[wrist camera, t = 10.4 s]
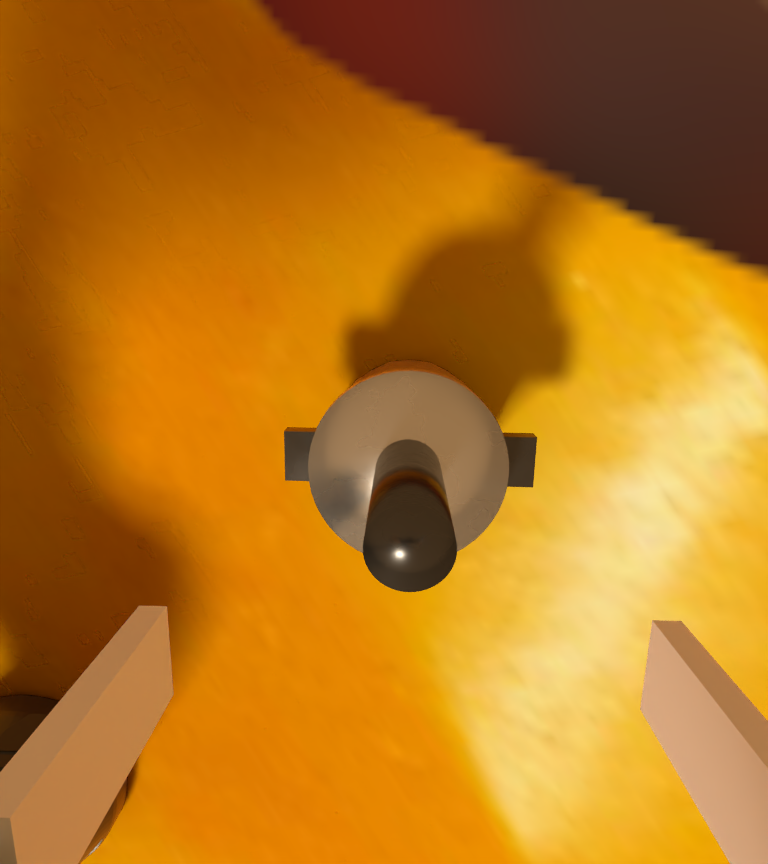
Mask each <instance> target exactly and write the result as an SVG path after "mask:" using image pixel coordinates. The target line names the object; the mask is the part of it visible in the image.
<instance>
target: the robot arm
mask: <svg viewBox="0 0 768 864" xmlns="http://www.w3.org/2000/svg"><path fill="white" fill-rule="evenodd" d="M173 694H174V693H173V680H172V666H171V653H170V639H169V626H168V612H167V606H141V605H139V606H138V608H137V609H136V610H135V611H134V612H133V614H132V615H131V616H130V617H129V618H128V620H127V621H126V622H125V623H124V624H123V626H122V627H121V628H120V629H119V630H118V632H117V633H116V634H115V635H114V636H113V638H112V639H111V640H110V641H109V642H108V644H107V645H106V646H105V647H104V648H103V650H102V651H101V652H100V653H99V654H98V656H97V657H96V658H95V659H94V660H93V662H92V663H91V664H90V665H89V666H88V668H87V669H86V670H85V671H84V672H83V674H82V675H81V676H80V677H79V678H78V680H77V681H76V682H75V683H74V684H73V686H72V687H71V688H70V689H69V690H68V692H67V693H66V694H65V695H64V696H63V698H62V699H61V700H60V701H59V702H58V701H55V700H52V699H48V698H44V697H38V696H29V695H14V696H6V697H1V698H0V864H80V863H81V862H82V861H83V860H84V859H85V858H87V857H88V856H89V855H90V854H91V853H92V852H94V851H95V850H96V849H97V848H98V847H99V846H100V844H101V843H102V842H103V841H104V839H105V838H106V836H107V835H108V833H109V832H110V830H111V828H112V826H113V824H114V822H115V821H116V819H117V817H118V815H119V813H120V811H121V810H122V807H123V805H124V802H125V798H126V792H127V776H128V774H129V773H130V771H131V769H132V767H133V766H134V764H135V762H136V760H137V758H138V757H139V755H140V753H141V751H142V750H143V748H144V746H145V744H146V742H147V741H148V739H149V737H150V735H151V734H152V732H153V730H154V728H155V726H156V725H157V723H158V721H159V719H160V718H161V716H162V714H163V712H164V710H165V709H166V707H167V705H168V703H169V702H170V700H171V698H172V696H173ZM640 710H641V711H642V713H643V715H644V716H645V718H646V720H647V722H648V723H649V725H650V727H651V728H652V730H653V732H654V734H655V735H656V737H657V739H658V740H659V742H660V744H661V746H662V747H663V749H664V751H665V752H666V754H667V756H668V758H669V759H670V761H671V763H672V765H673V766H674V768H675V770H676V771H677V773H678V775H679V777H680V778H681V780H682V782H683V783H684V785H685V787H686V789H687V790H688V792H689V794H690V795H691V797H692V799H693V801H694V802H695V804H696V806H697V807H698V809H699V811H700V813H701V814H702V816H703V818H704V819H705V821H706V823H707V825H708V826H709V828H710V830H711V831H712V833H713V835H714V837H715V838H716V840H717V842H718V843H719V845H720V847H721V849H722V850H723V852H724V854H725V855H726V857H727V859H728V861H729V862H730V864H768V721H767V720H766V719H765V717H764V716H763V715H762V714H761V713H760V712H759V711H758V709H757V708H756V707H755V706H754V705H753V704H752V702H751V701H750V700H749V699H748V698H747V697H746V696H745V694H744V693H743V692H742V691H741V690H740V689H739V687H738V686H737V685H736V684H735V683H734V682H733V680H732V679H731V678H730V677H729V676H728V675H727V674H726V672H725V671H724V670H723V669H722V668H721V667H720V665H719V664H718V663H717V662H716V661H715V660H714V659H713V657H712V656H711V655H710V654H709V653H708V652H707V650H706V649H705V648H704V647H703V646H702V645H701V643H700V642H699V641H698V640H697V639H696V638H695V637H694V635H693V634H692V633H691V632H690V631H689V630H688V628H687V627H686V626H685V625H684V624H683V623H682V621H657V620H652V627H651V635H650V642H649V649H648V656H647V664H646V671H645V678H644V686H643V693H642V700H641V708H640Z"/></svg>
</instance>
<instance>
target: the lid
mask: <svg viewBox="0 0 768 864" xmlns="http://www.w3.org/2000/svg"><path fill="white" fill-rule="evenodd" d="M308 474H309V483H310V487H311V492H312V495H313V498H314V501H315V503H316V506H317V508H318V510H319V511H320V513H321V515H322V517H323V518H324V520H325V521H326V523H327V524H328V525H329V527H330V528H331V529H332V530H333V531H334V532H335V533H336V534H337V535H338V536H339V537H340V538H341V539H342V540H344V541H345V542H346V543H347V544H349V545H350V546H352V547H353V548H355V549H356V550H358V551H360V552H362V553H363V555H364V560H365V563H366V565H367V567H368V569H369V570H370V572H371V573H372V575H373V576H374V577H375V578H376V579H377V580H378V581H380V582H381V583H382V584H384V585H385V586H387V587H390V588H392V589H395V590H398V591H404V592H416V591H422V590H426V589H428V588H431V587H433V586H435V585H436V584H438V583H439V582H441V581H442V580H443V579H444V578H445V577H446V576H447V575H448V573H449V572H450V571H451V569H452V567H453V565H454V563H455V559H456V555H457V551H459V550H461V549H462V548H464V547H466V546H467V545H468V544H470V543H471V542H472V541H474V540H475V539H476V538H477V537H478V536H479V535H480V534H481V533H482V532H483V531H484V530H485V529H486V528H487V527H488V525H489V524H490V523H491V522H492V520H493V519H494V517H495V515H496V514H497V512H498V510H499V508H500V506H501V504H502V501H503V499H504V496H505V492H506V489H507V484H508V477H509V458H508V450H507V446H506V442H505V439H504V436H503V433H502V431H501V429H500V426H499V424H498V423H497V421H496V419H495V418H494V416H493V414H492V413H491V412H490V410H489V409H488V408H487V406H486V405H485V404H484V403H483V401H482V400H481V399H480V398H479V397H478V396H477V395H476V394H475V393H474V392H472V391H471V390H470V389H469V388H467V387H466V386H464V385H463V384H462V383H460V382H458V381H456V380H454V379H452V378H450V377H448V376H446V375H443V374H440V373H437V372H433V371H429V370H424V369H414V368H405V369H394V370H388V371H383V372H380V373H377V374H374V375H371V376H369V377H367V378H365V379H362V380H360V381H359V382H357V383H356V384H354V385H352V386H351V387H349V388H348V389H347V390H346V391H345V392H343V393H342V394H341V395H340V396H339V397H338V398H337V399H336V400H335V401H334V402H333V404H332V405H331V406H330V407H329V409H328V410H327V412H326V413H325V415H324V416H323V418H322V419H321V421H320V423H319V425H318V427H317V429H316V431H315V434H314V437H313V440H312V443H311V447H310V452H309V461H308Z"/></svg>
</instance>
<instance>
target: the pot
mask: <svg viewBox="0 0 768 864" xmlns="http://www.w3.org/2000/svg"><path fill="white" fill-rule="evenodd" d="M405 368H414V369H424V370H429V371H433V372H437V373H440V374H443V375H446V376H448V377H450V378H452V379H454V380H456V381H458V382H460V383H462V384H463V385H464V386H466V384H465V383H464V382H462V381H461V380H459V379H457V378H456V377H455V376H454V375H452V374H451V373H449V372H448V371H446V370H445V369H443V368H441V367H439V366H436V365H435V364H433V363H431V362H423V361H416V360H400V361H390V362H388V363H386V364H384V365H381V366H379V367H377V368H375V369H373V370H371V371H370V372H368V373H366V374H365V375H364V376H363V377H361V378H359V379H357V380H355V382H354V384H356V383H357V382H359V381H360V380H362V379H365V378H367V377H369V376H371V375H374V374H377V373H380V372H383V371H388V370H394V369H405ZM354 384H353V385H354ZM466 387H467V386H466ZM467 388H468V387H467ZM316 429H317V428H296V427H287V429H286V430H285V431H284V441H285V480H293V481H309V474H308V461H309V452H310V447H311V443H312V440H313V437H314V434H315V431H316ZM503 436H504V439H505V442H506V446H507V450H508V458H509V477H508V484H507V486H510V487H533V480H534V467H535V455H536V443H537V437H536V436H535V435H534V434H533V433H503Z"/></svg>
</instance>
